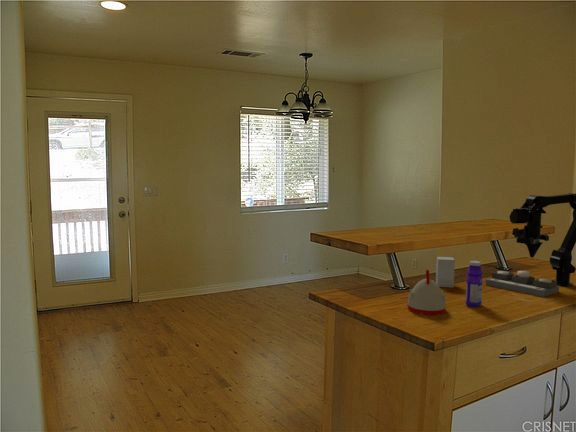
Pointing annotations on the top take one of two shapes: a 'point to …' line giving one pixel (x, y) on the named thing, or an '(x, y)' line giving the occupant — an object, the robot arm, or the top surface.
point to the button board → (523, 284)
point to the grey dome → (427, 298)
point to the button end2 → (545, 280)
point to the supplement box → (445, 271)
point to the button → (502, 272)
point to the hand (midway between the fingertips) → (531, 257)
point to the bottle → (474, 285)
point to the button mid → (523, 274)
